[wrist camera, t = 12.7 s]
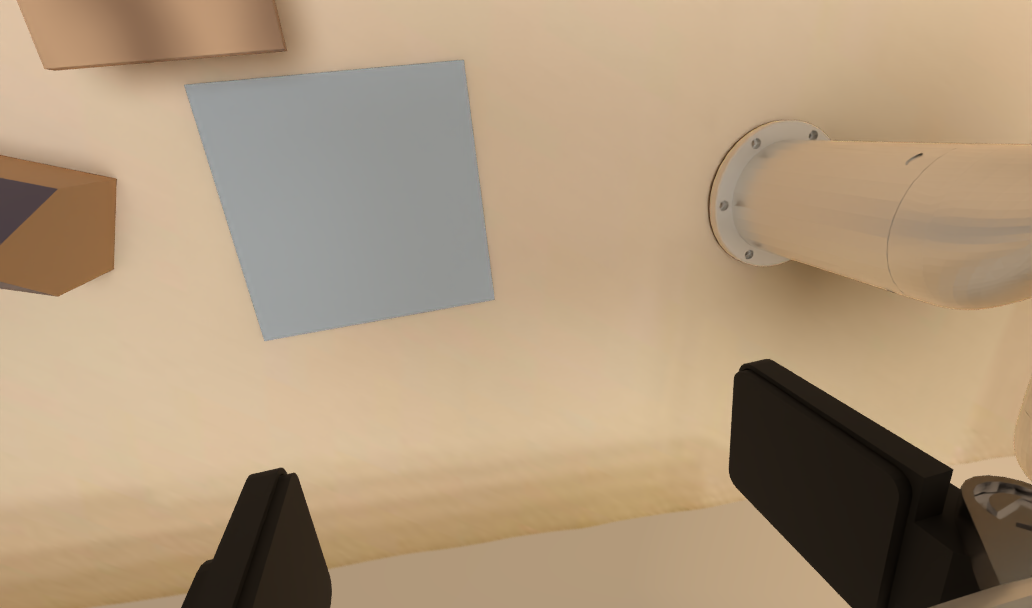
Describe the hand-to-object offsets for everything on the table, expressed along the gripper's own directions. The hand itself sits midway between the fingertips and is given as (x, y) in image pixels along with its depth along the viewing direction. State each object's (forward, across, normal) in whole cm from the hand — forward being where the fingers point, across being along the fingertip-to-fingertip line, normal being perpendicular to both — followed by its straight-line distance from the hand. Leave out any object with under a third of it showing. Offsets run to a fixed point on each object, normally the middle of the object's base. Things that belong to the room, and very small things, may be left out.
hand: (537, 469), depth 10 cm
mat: (+30, +5, -2) cm, 31 cm away
